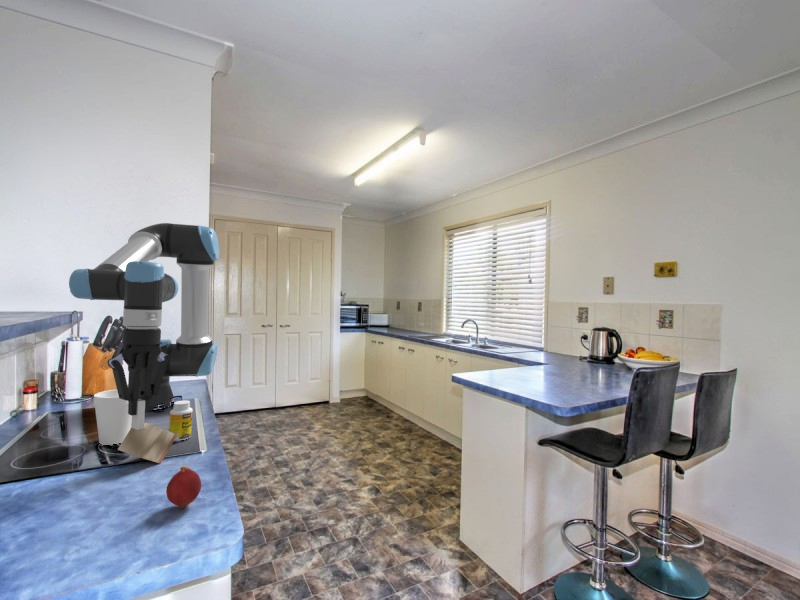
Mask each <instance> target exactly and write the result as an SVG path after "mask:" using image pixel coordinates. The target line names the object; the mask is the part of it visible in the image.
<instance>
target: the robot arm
mask: <svg viewBox="0 0 800 600" xmlns="http://www.w3.org/2000/svg"><path fill="white" fill-rule="evenodd" d="M219 246H220V245H219V239H218V235H217V233H216V231H215V229H214V228H213V227H210V226H206V225H205V226H203V225H194V224H193V225H192V224H181V223H169V222H162V223H161V222H160V223H155V224H152V225H149V226H146V227H143V228H140V229H139V230H137V231H135V232H134V233H132V234H131V235H130V237H128V241H127V243H125V244H124V245H123V246H121V248H119V249H118V250H117V251H115V252H114V253H113V254H111V255H110V256H109V257H108V258H106V259H105V260H104V261H102V262H101V263H100V264H98V265H97V266H96V267H94V268H92V269H91V268H77V269H74V271H73V272H72V273H70V276H69V279H68V286H69V287H68V288H69V291H70V294H71V295H72V296H73V297H74V298H76V299H80V300H81V299H83V300H90V301H94V300H95V301H99V300H100V301H123V315H122V326H123V327H125V328H123V329H122V335H121V339H122V340H121V350H120V351H119V353H118V354H119V355H117V356H116V357H114V358H109V359H108V360H107V362H106V363H107V364H108V366H109V367H110V368H111V369H112V373H113V374H112V375H113V378H114V382H115V385H116V386H115V387H116V390H117V391H118V395H119V398H120V399H123V400H126V401H128V402H129V403H128V414H129V415H132V423H131V427H132V428H134V429H137V430H138V429H142V428H144V423H145V417H146V413H149V412H153V411H152V410H153V408H154V406H158V405H160V404H161V403H163V404H164V407H165V409H167V408H166V407H168V406H170V402H171V399H172V398H173V397H174V398H175V396H174V394H173V389H172V386H171V384H170V379H171V378H170V377H206V376H209V375H211V374H212V372H213V369H214V367H215V364H216V361H217V354H218V344H216V343H213V337H212V336H210V335H209V298H210V297H209V296H210V295H209V293H210V287H209V282H210V270H211V268H213V266H214V265H215V262H216V261H219V259H220V258H219V257H220V247H219ZM160 257H161V258H173V259H174V258H175V259H176V265H178V266H179V268H180V269H181V272H180V273H181V277H180V278H181V280H180V281H181V288H180V289H181V291H180V292H181V294H180V300H181V301H180V302H181V303H180V307H181V308H180V310H181V311H180V314H181V315H180V316H181V317H180V335H179V336H178V338H177V339H175V343H173V342H172V340H171V339H170V338H168V339H161V338H162V337H161V336H162V329H161V328H159V327H160V326H161V325H162V316H163V315H162V314H163V313H162V312H163V310H162V309H163V303H165V302H169V301H171V300H173V299H174V298H175V297H176V296H177V295H178V292H179V284H178V282H177V280H176V279H175V278H174V277H173V276H171V275H169V274H167V273H165V271H164V265H163V264H162V263H158V262H152V261H153V260H155V259H158V258H160ZM124 362H125V363H126V365H127V370H128V371H127V372H128V382H127V377H126V375H125V370H124V369H125V368H124V367H123V365H124ZM168 408H169V407H168Z"/></svg>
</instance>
